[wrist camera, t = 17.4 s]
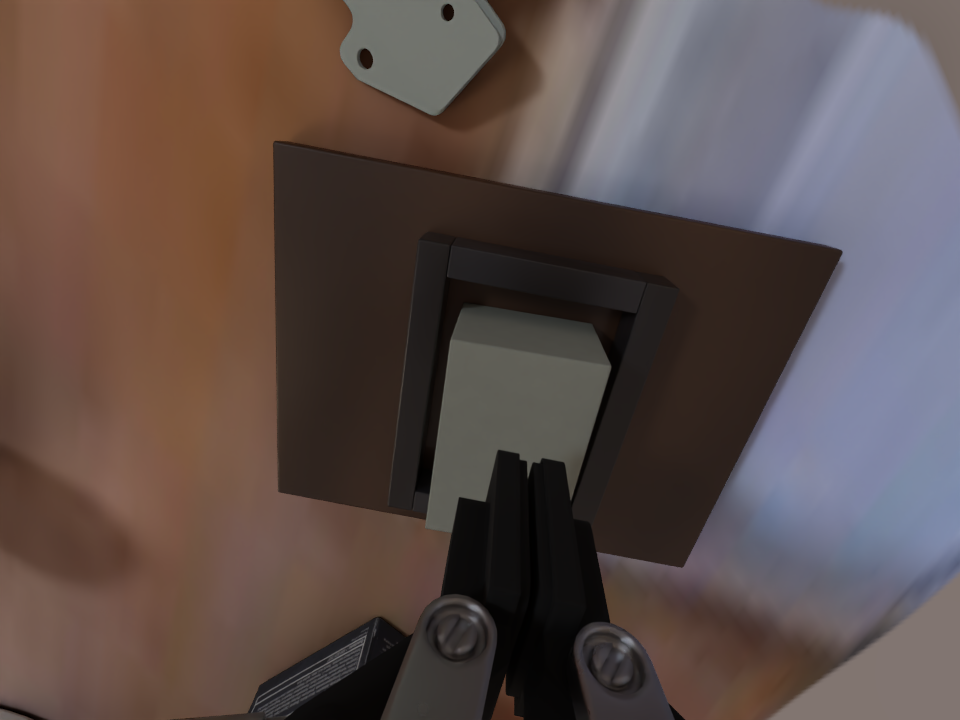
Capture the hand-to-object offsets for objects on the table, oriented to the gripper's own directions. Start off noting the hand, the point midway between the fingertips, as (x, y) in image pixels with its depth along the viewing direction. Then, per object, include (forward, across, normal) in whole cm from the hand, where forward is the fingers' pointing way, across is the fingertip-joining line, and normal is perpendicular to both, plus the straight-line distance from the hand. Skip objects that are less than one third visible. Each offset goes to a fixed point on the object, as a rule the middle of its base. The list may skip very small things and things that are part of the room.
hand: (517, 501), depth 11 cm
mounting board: (+7, 0, 0) cm, 7 cm away
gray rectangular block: (+6, 0, 0) cm, 6 cm away
